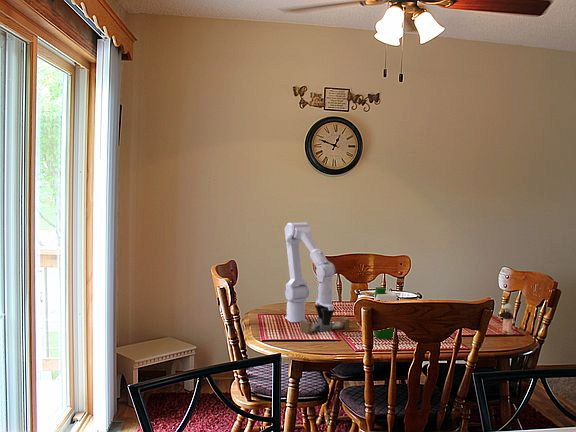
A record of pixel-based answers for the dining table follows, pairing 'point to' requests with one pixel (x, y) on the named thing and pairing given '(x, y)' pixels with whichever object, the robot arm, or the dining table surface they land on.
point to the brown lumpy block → (308, 327)
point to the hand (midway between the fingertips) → (324, 323)
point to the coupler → (322, 326)
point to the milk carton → (384, 296)
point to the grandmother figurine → (507, 319)
